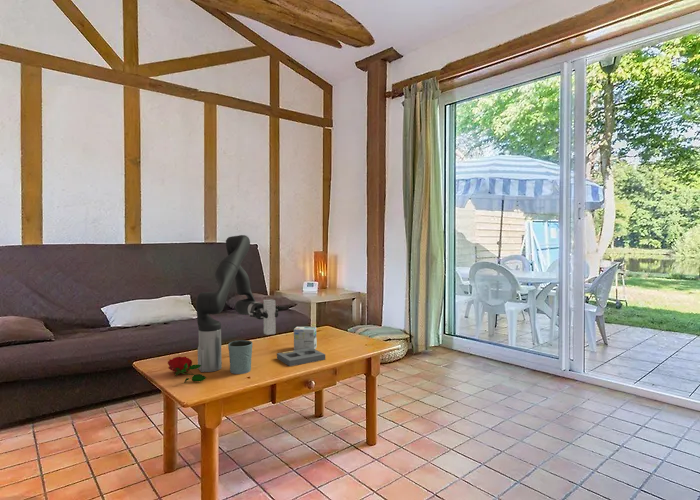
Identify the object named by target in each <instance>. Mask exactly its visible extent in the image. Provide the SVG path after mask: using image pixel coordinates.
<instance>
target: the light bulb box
mask: <svg viewBox="0 0 700 500" xmlns="http://www.w3.org/2000/svg"><path fill="white" fill-rule="evenodd" d="M317 347H318V346H317V326H296V327H295V328H294V329H293V351H294V350H300V349H306V348H313V349H315V350H317Z"/></svg>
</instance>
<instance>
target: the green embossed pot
mask: <svg viewBox="0 0 700 500" xmlns="http://www.w3.org/2000/svg"><path fill="white" fill-rule="evenodd" d="M227 348H228V358H229V372H230V373H231V374H233V375H243V374H247V373H250V372H251V370H252V357H253V356H252V355H253V341H251V340H248V339H247V340H243V339H241V340H239V339H237V340H232V341H230V342H228V346H227Z"/></svg>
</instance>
